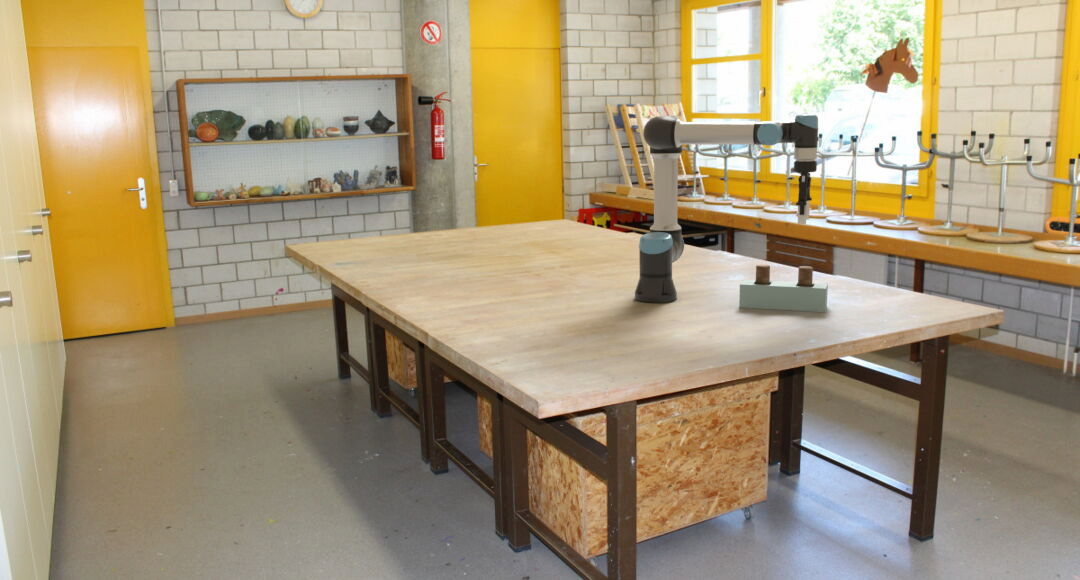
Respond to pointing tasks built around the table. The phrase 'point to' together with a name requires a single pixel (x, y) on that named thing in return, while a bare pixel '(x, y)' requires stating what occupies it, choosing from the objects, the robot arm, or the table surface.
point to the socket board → (783, 296)
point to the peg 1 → (763, 274)
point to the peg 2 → (805, 276)
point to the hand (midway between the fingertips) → (803, 221)
